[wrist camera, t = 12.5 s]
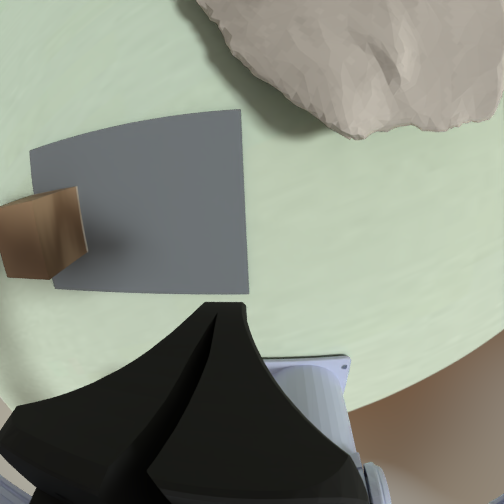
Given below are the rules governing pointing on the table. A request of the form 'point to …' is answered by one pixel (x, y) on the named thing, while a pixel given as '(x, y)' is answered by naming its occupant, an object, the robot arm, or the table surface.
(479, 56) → the rock
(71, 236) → the cube
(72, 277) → the mat
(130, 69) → the table surface
